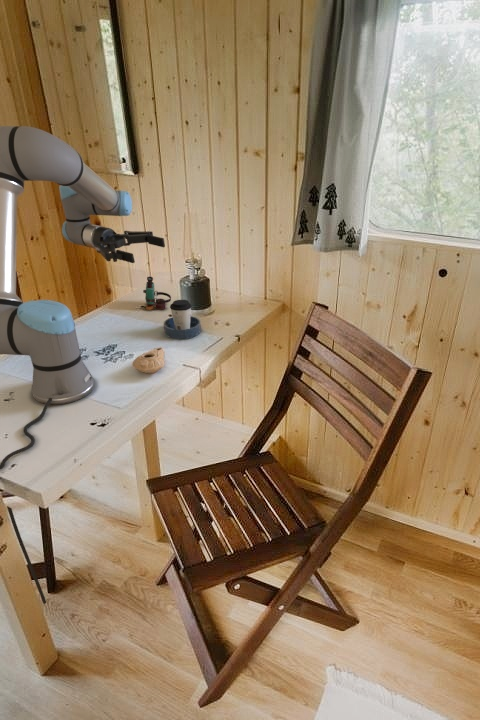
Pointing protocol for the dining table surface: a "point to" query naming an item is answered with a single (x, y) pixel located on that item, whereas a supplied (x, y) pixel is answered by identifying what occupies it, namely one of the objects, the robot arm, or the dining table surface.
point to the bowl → (183, 333)
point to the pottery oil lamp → (150, 361)
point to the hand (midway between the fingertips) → (148, 250)
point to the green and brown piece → (151, 296)
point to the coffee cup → (181, 314)
